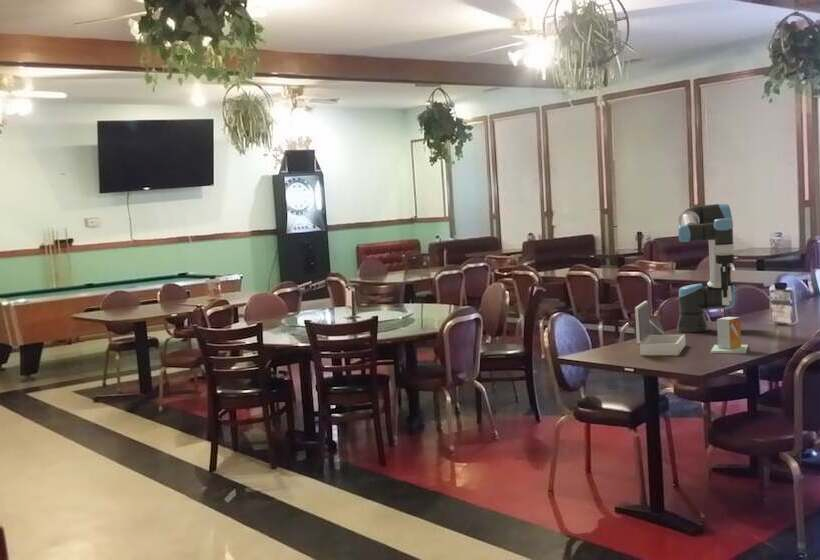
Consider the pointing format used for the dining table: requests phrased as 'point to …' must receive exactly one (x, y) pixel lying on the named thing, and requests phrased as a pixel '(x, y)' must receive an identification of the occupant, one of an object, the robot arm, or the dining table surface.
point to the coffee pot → (656, 321)
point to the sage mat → (733, 350)
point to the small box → (729, 332)
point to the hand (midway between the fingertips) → (727, 302)
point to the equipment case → (655, 336)
